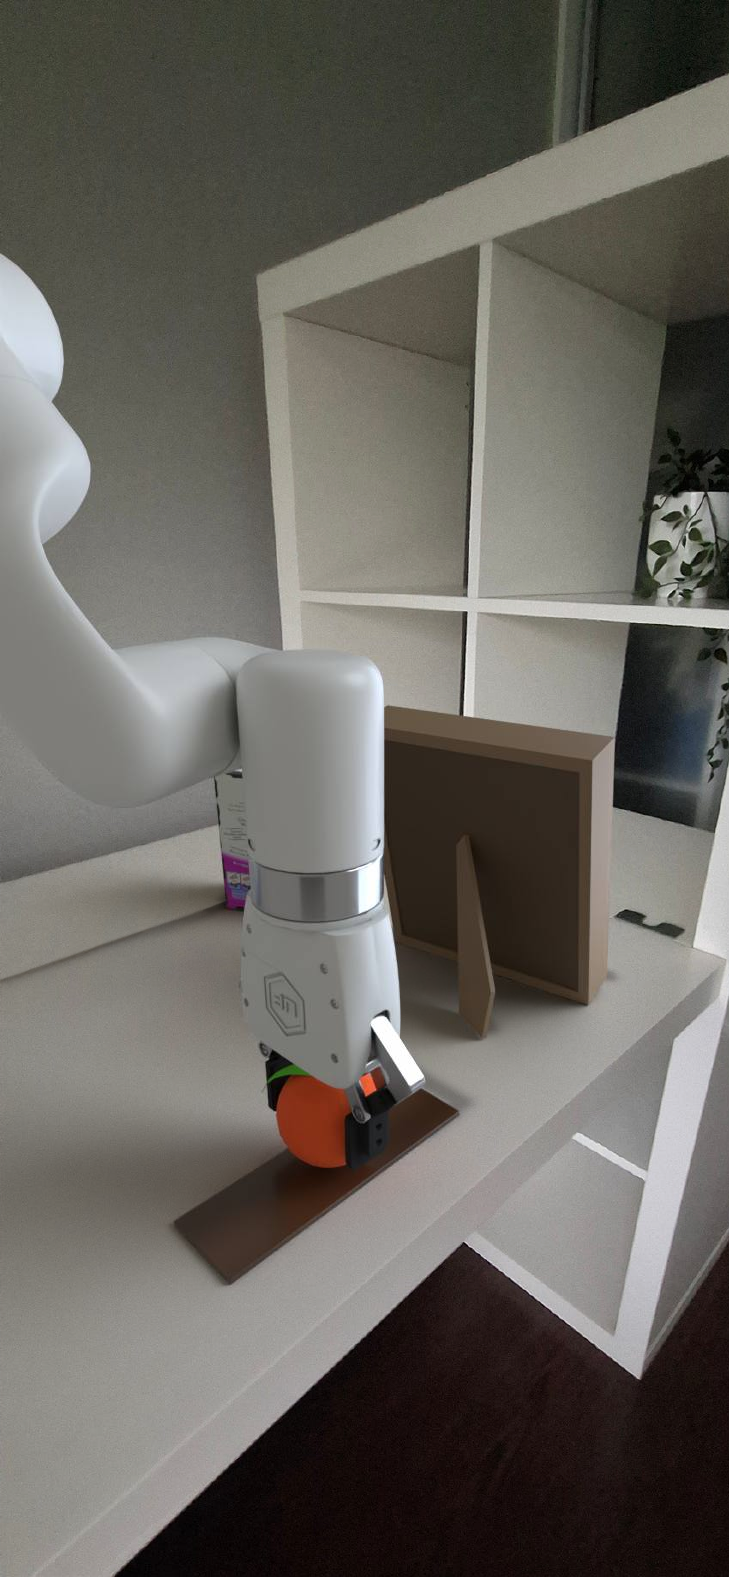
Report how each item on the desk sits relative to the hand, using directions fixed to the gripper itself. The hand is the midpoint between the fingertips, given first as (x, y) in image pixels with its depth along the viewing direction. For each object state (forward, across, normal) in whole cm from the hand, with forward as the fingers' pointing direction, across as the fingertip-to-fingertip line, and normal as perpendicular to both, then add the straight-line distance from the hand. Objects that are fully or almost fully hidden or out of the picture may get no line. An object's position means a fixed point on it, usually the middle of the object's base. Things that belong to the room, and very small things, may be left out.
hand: (326, 1126), depth 51 cm
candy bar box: (+4, -35, +23) cm, 42 cm away
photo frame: (+3, -8, +25) cm, 27 cm away
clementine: (+3, 0, 0) cm, 3 cm away
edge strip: (+3, 0, 0) cm, 3 cm away
